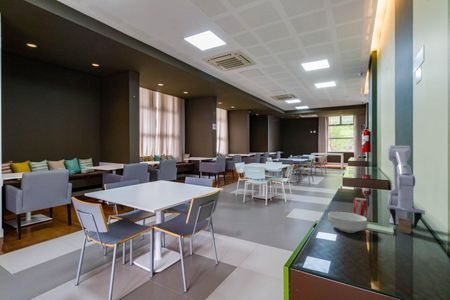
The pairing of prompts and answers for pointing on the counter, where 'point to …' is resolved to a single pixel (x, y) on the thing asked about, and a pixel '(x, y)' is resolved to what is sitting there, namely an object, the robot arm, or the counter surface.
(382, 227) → the tray
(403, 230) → the walnut block
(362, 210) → the soda can
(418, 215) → the robot arm
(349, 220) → the cereal bowl
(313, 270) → the counter surface
